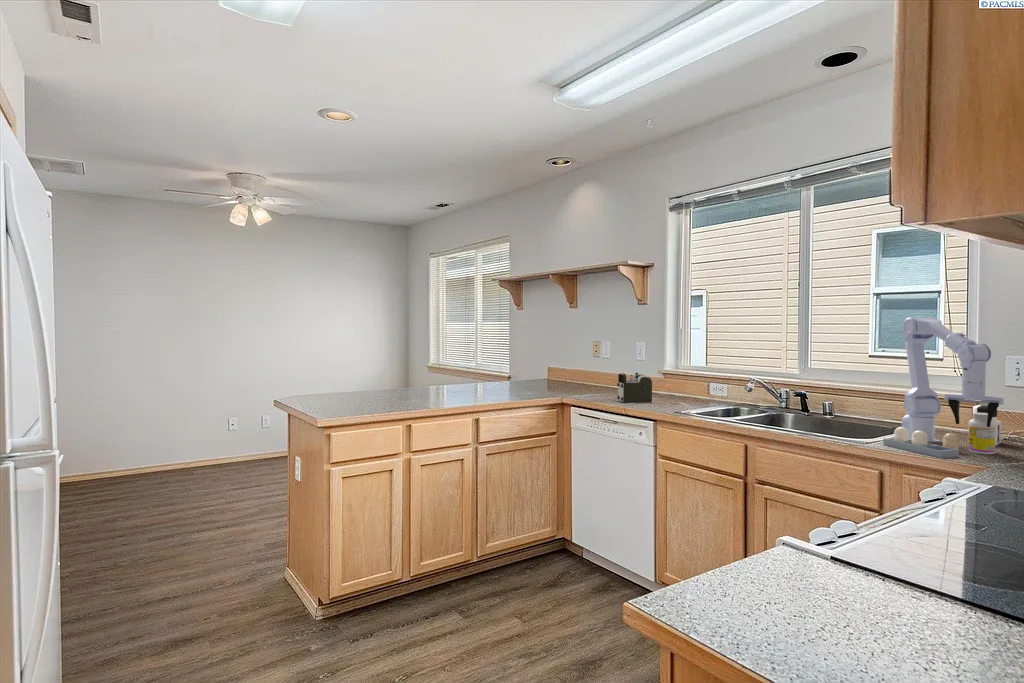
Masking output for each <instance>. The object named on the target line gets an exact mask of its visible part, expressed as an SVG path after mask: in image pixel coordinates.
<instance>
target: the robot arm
mask: <svg viewBox="0 0 1024 683" xmlns="http://www.w3.org/2000/svg"><path fill="white" fill-rule="evenodd" d="M901 330H902V336H903V337H902V338H903V341H904V343H905V351H906V357H907V358H906V359H907V365H908V372H909V380H910V386H911V387H910V388H911V389H910V390H909V391H907V392H906V393H905V394H904V402H903V408H904V411H905V412H906V414H905V415H904V416H903V417H902V419H901V427H904V428H906V429H907V430H908V431H909V439H910V440H912V434H913V432H915V431H918V430H920V431H923V432H925V433H926V434H927V443H934V442H935V443H937V442H942V440H939V439H935V429H936V428H935V427H936V426H935V423H936V422H935V421H936V420H935V418H937V417H938V415H939V414H940V412H941V411H942V404H941V402H940V400H939V397H938V393H937V392H936V391H934V389H932V388H931V387H930V380H929V375H928V367H927V361H926V354H925V347H924V345H925V343H927V342H929V341H930V340H931V339H933V338H934V337H937V338H939V339H940V340H942V341H943V342H944V344H945V347H946V348H948V349H949V350H951V351H952V352H953V353H955V354H957V358H958V360H959V361H960V368H962V371H961V372H962V375H961V376H962V377H961V384H962V385H961V387H962V388H961V392H962V393H961V394H953V393H952V394H951V393H949V394H948V393H945V394H944V401H946V402H947V401H948V402H947V403H948V404H947V405H949V408H950V409H951V412H952V413H953V417H954V419H955V420H954V421H955V425H959V424H960V402H965V403H979V404H987V406H988V418H987V427H990V425H991V420H992V417H993V415H994V413H995V411H996V409H997V410H998V408H999V406H1000V405H1002V406H1003V405H1004V404H1005V399H1004V397H995V396H986V373H987V371H986V366H987V365H986V363H988V362H989V361H990V360H991V357H992V351H991V348H990V347H989V346H988V345H987V344H986V343H980V344H979V343H977V342H975V340H973V339H970V338H968V337H967V336H966V334H965V333H963V332H952V331H951V329H948V328H947V327H946V326H945V325H943V323H942V320H941V319H938V318H937V317H935V316H932V317H911V316H909V317H906V318H905V319H904V321H903V323H902V324H901Z"/></svg>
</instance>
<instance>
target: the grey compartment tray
mask: <svg viewBox="0 0 1024 683" xmlns="http://www.w3.org/2000/svg"><path fill="white" fill-rule="evenodd" d="M882 445H883V446H887V447H891V448H896V449H899V450H900V449H901V450H903V451H909V452H913V453H917V454H921V455H926V456H929V457H934V458H939V459H945V458H958V457H960V449H959V450H958V449H953V448H948V447H943V445H938V444H933V443H930V442H927V446H917V445H912V440H910V439H909V442H899V441H894V437H886V438H883V444H882Z"/></svg>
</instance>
